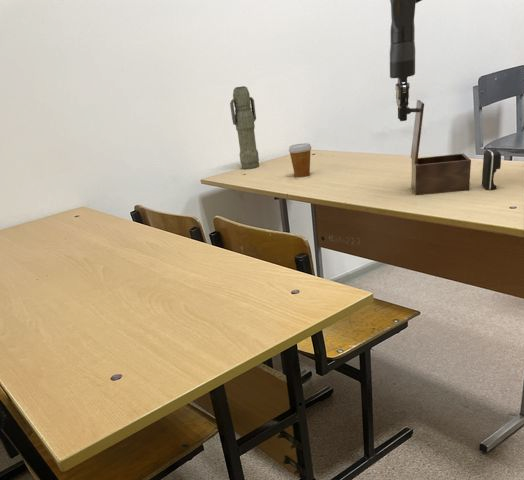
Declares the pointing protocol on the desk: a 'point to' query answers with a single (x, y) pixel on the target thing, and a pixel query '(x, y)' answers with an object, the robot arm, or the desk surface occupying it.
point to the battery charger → (490, 168)
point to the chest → (441, 174)
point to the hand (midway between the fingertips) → (402, 119)
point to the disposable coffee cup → (300, 159)
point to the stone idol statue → (245, 126)
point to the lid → (416, 129)
